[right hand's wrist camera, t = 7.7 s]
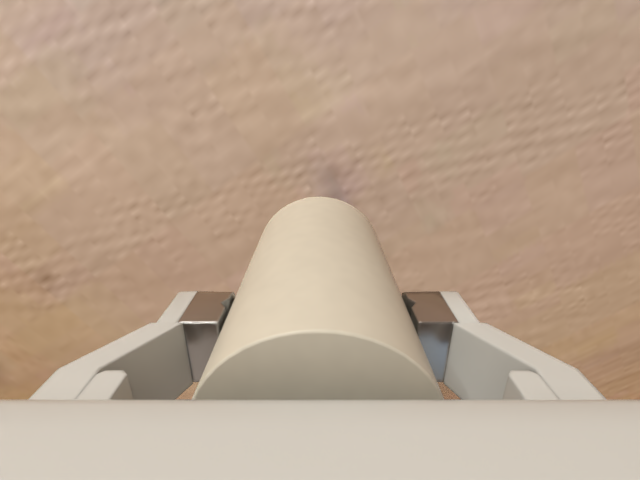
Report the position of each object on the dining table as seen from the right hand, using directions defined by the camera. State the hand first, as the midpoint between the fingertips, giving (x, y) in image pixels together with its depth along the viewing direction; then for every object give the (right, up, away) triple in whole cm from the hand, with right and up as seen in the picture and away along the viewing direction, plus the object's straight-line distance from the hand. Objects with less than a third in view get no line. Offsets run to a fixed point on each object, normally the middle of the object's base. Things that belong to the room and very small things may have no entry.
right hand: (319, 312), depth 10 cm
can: (0, +2, +4) cm, 4 cm away
